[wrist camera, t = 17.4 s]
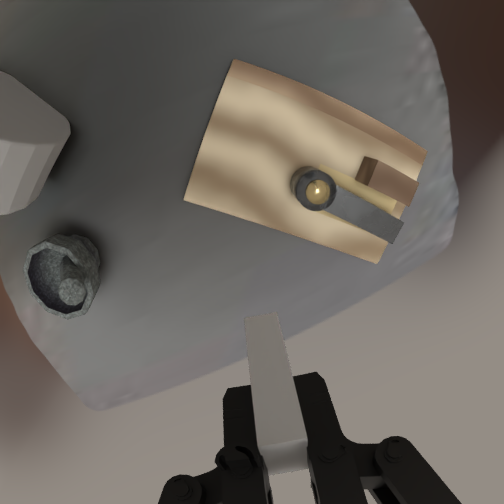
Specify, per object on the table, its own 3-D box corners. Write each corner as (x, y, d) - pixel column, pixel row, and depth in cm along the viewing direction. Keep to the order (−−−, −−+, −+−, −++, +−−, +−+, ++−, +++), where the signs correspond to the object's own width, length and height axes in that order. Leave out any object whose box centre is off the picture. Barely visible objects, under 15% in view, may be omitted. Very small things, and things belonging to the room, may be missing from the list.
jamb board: (233, 61, 27) (234, 50, 23) (422, 150, 32) (444, 155, 28) (184, 197, 33) (178, 208, 28) (373, 260, 38) (389, 276, 34)
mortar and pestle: (70, 296, 37) (32, 350, 26) (38, 237, 33) (-13, 280, 22) (134, 274, 36) (103, 333, 25) (102, 206, 32) (52, 245, 21)
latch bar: (283, 193, 32) (291, 202, 28) (299, 159, 31) (309, 164, 27) (376, 237, 35) (391, 250, 31) (391, 209, 34) (408, 219, 30)
